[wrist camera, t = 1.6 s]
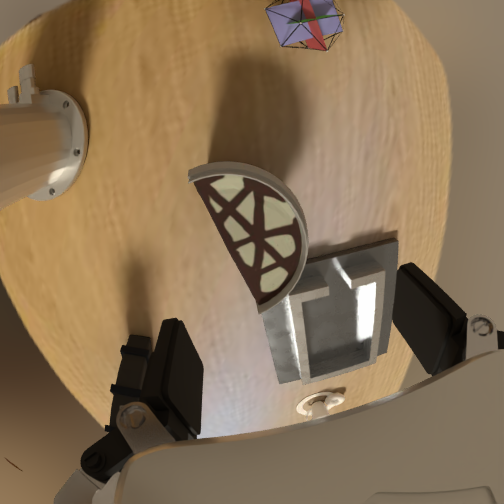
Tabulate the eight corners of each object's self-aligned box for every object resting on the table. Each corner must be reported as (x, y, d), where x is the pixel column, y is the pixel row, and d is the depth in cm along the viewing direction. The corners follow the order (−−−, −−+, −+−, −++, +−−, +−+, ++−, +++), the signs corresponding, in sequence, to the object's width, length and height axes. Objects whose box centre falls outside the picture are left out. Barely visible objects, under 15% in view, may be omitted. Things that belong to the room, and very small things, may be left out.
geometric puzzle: (356, 60, 20) (364, -3, 12) (295, 78, 21) (286, 9, 13) (318, 25, 21) (315, -31, 14) (262, 40, 22) (248, -18, 14)
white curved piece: (344, 385, 43) (351, 402, 40) (336, 408, 47) (342, 423, 43) (298, 394, 43) (302, 412, 39) (294, 415, 46) (298, 432, 43)
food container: (302, 239, 30) (334, 288, 21) (250, 261, 30) (261, 319, 21) (258, 131, 25) (276, 133, 16) (199, 158, 25) (184, 175, 16)
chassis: (251, 272, 31) (254, 289, 28) (394, 237, 31) (409, 249, 28) (278, 379, 40) (281, 396, 37) (384, 348, 39) (393, 363, 36)
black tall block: (149, 327, 31) (135, 447, 22) (160, 358, 41) (153, 445, 32) (120, 322, 31) (103, 440, 21) (139, 355, 41) (129, 441, 31)
